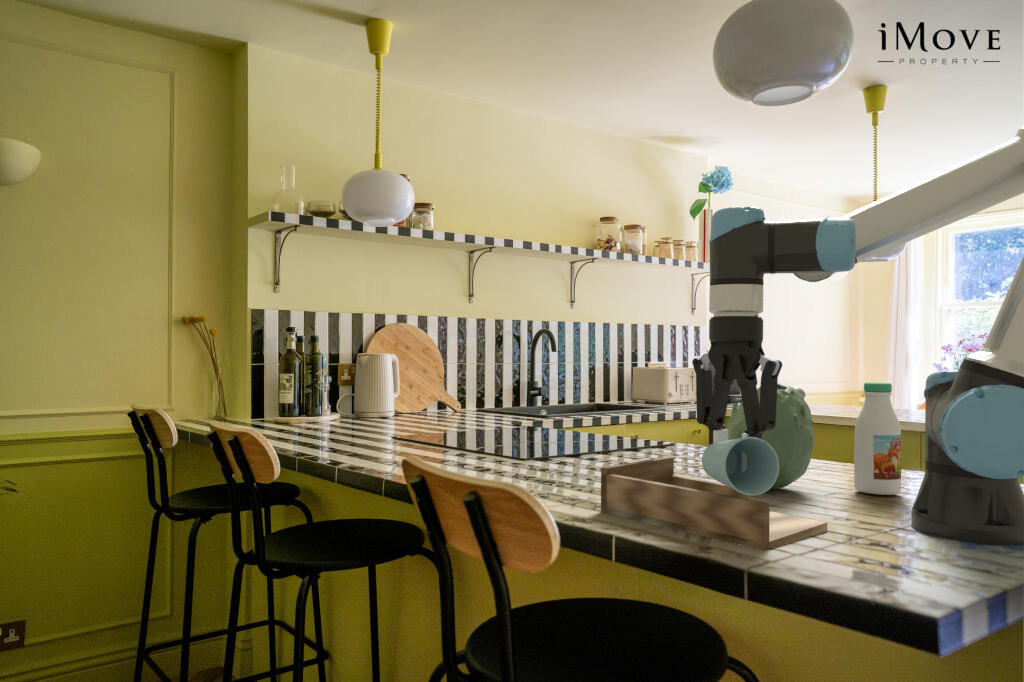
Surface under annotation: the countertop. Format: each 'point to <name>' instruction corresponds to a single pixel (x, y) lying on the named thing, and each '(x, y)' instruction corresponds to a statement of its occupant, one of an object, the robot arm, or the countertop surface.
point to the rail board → (696, 506)
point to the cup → (727, 464)
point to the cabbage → (783, 433)
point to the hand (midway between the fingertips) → (734, 475)
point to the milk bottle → (877, 443)
